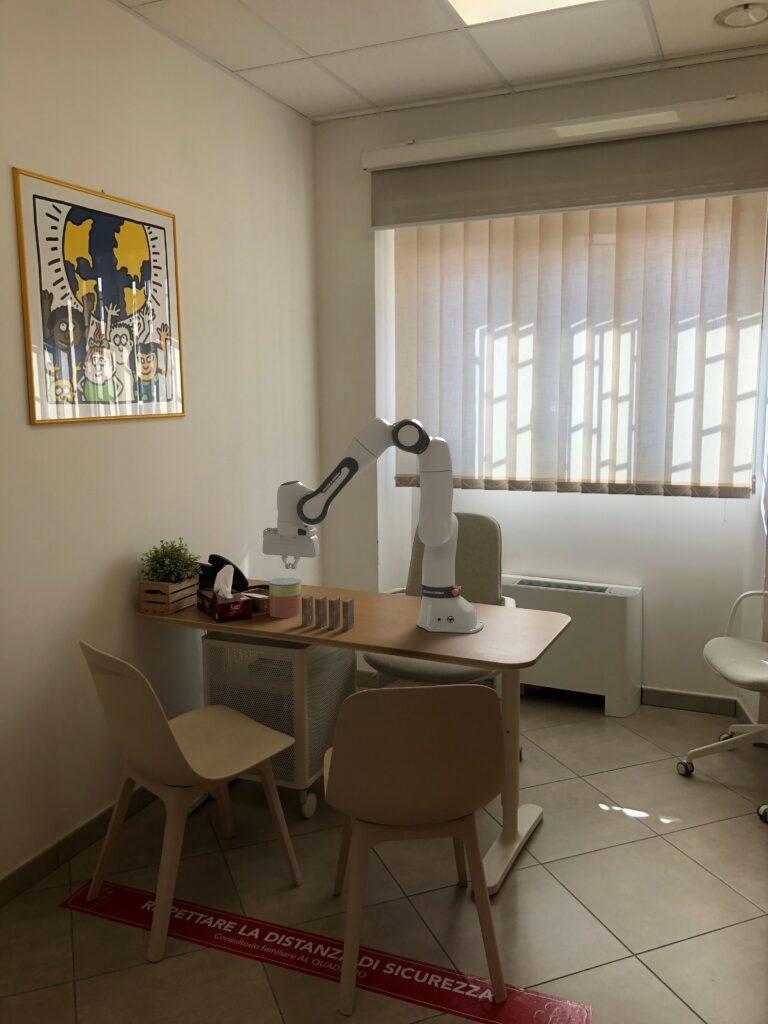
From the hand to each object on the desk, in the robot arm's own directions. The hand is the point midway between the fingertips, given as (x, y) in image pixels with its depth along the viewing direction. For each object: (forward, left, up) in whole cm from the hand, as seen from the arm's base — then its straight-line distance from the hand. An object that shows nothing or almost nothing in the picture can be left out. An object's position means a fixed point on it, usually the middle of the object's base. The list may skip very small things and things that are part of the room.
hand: (290, 568), depth 293 cm
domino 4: (-21, 0, -19) cm, 28 cm away
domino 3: (-16, 0, -19) cm, 25 cm away
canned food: (+8, -11, -19) cm, 24 cm away
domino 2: (-11, 0, -19) cm, 22 cm away
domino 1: (-6, 0, -19) cm, 20 cm away
